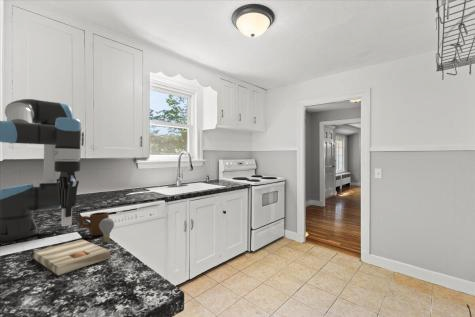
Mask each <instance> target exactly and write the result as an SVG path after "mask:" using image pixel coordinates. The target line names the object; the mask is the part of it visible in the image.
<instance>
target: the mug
mask: <svg viewBox="0 0 475 317" xmlns="http://www.w3.org/2000/svg"><path fill="white" fill-rule="evenodd" d="M105 218H109V212H106V211H103V212H101V211H99V212H94V213H90V215H89V216H87V215H84V216H80V218H79V219H78V225H79V226H80V227H82V228H88V229H89V234H90V236H91V237H96V236H98V235H99V236H104V235H103V233H102V231H101V230H100V228H99V224H100V222H101V221H102V220H103V219H105ZM83 220H85V221H89V222H88V223H86V222H85V223H84V222H83Z"/></svg>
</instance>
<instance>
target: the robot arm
mask: <svg viewBox="0 0 475 317" xmlns="http://www.w3.org/2000/svg"><path fill="white" fill-rule="evenodd" d="M4 114H5V117H6V120H0V143H8V144H21V145H22V144H25V145H27V144H29V145H43V179H42V180H41V181H40V182H39V184H38V185H39V186H35V185H34V184H33V183H29V184H19V185H12V186H7V187H6V186H5V187H2V188H0V242H8V241H13V240H14V241H17V240H20V239H25V238H30V237H32V236H36V234H38V226H37V224H36V221H35V219H34V212H38V211H49V210H58V209H61V218H60V219H61V224H60V227H68V226H72V225H73V224H72V223H73V207H75V206H76V200H77V192H78V187H79V183H80V180H77V178H76V172H80V171H81V162H80V161H81V159H82V158H81V154H82V152H81V150H82V149H81V141H82V140H81V139H82V138H81V137H82V136H81V135H82V123H81V120H80V119H78V118H74V116H73V110H72V107H70V106H69V105H68V104H67V103H66V104H65V103H61V102H54V101H47V100H40V99H33V98H23V99H17V100H14V101H12V102H10V103H8V104H7V105H6V106H5V108H4Z"/></svg>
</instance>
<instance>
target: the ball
mask: <svg viewBox="0 0 475 317" xmlns="http://www.w3.org/2000/svg"><path fill="white" fill-rule="evenodd" d="M85 255H86V254H85V253H84V252H78V253H77V254H76V255H75V256H74V259H75V258H79V257H82V256H85Z"/></svg>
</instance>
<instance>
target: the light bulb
mask: <svg viewBox="0 0 475 317" xmlns="http://www.w3.org/2000/svg"><path fill="white" fill-rule="evenodd" d="M114 227H115V222H114V220H113V219H112V218H105V219H103V220H102V221H101V222H100V224H99V228H100V230H101V231H102V233H103V235H102V236H103V242H104V243H108V242H110V236H111V235H110V234H111V232H112V230H113V229H114Z"/></svg>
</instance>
